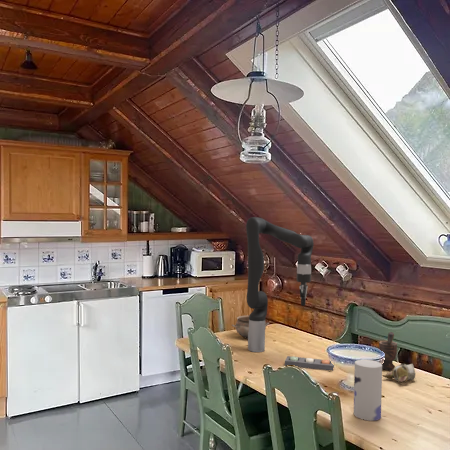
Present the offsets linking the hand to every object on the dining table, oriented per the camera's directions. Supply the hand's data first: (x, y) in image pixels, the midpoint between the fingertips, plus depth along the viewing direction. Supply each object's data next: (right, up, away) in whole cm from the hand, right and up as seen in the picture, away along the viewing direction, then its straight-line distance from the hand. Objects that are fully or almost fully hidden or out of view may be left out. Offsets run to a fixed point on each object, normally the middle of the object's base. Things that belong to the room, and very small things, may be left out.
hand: (303, 305), depth 251 cm
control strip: (+2, -29, -10) cm, 31 cm away
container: (+12, -30, -71) cm, 78 cm away
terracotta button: (+9, -29, -12) cm, 32 cm away
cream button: (+2, -28, -10) cm, 30 cm away
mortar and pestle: (+41, -30, -13) cm, 53 cm away
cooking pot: (-26, -28, +46) cm, 60 cm away
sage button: (-6, -28, -8) cm, 30 cm away
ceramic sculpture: (+41, -31, -31) cm, 59 cm away
